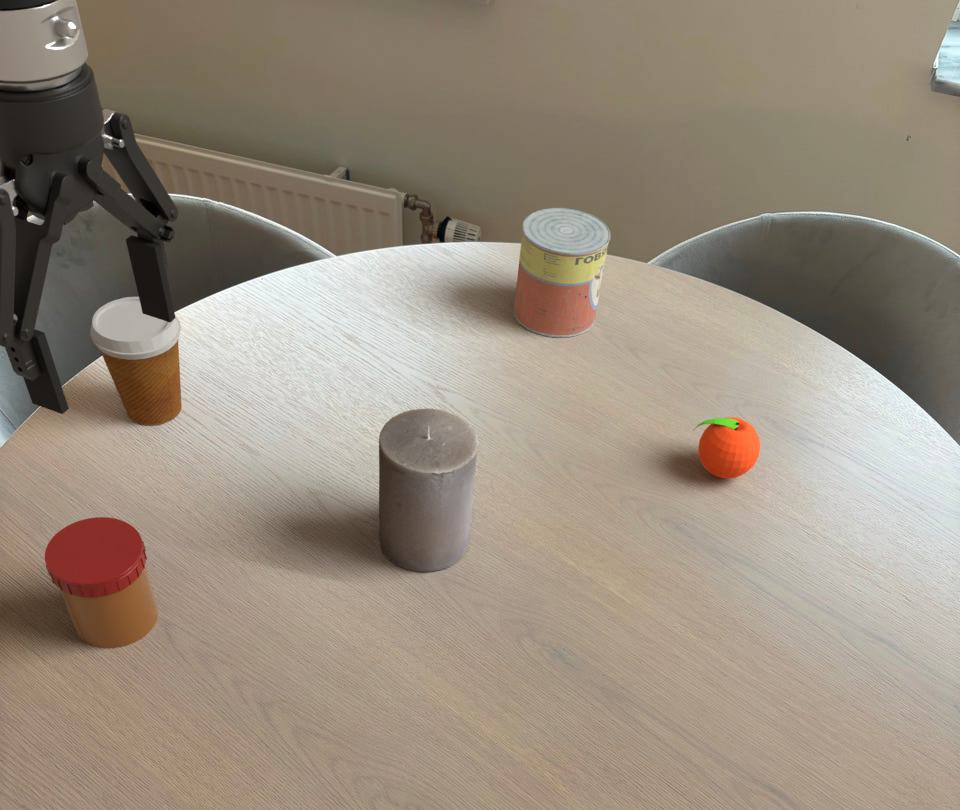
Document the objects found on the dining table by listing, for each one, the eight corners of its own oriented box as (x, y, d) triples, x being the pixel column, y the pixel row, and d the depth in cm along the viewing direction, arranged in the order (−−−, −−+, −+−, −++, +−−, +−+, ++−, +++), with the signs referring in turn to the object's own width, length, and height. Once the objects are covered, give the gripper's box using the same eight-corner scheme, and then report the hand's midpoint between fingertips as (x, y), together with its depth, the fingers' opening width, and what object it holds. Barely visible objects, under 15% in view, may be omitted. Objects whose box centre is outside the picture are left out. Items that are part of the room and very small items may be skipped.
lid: (31, 587, 85) (25, 573, 84) (77, 523, 90) (72, 508, 89) (121, 607, 84) (117, 593, 83) (162, 541, 90) (158, 527, 88)
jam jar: (64, 651, 92) (33, 575, 84) (101, 593, 97) (75, 515, 89) (140, 668, 92) (116, 593, 84) (174, 609, 96) (154, 532, 88)
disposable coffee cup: (179, 440, 112) (160, 350, 103) (98, 427, 113) (72, 336, 103) (207, 390, 118) (191, 301, 109) (130, 378, 119) (108, 288, 109)
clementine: (677, 479, 114) (692, 430, 108) (689, 443, 118) (703, 394, 113) (745, 497, 113) (763, 449, 107) (754, 460, 117) (772, 412, 111)
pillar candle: (364, 523, 106) (361, 410, 94) (446, 499, 109) (452, 387, 97) (402, 584, 101) (403, 473, 89) (486, 557, 104) (498, 446, 92)
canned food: (588, 344, 130) (603, 260, 120) (505, 328, 131) (513, 243, 122) (601, 299, 137) (616, 216, 128) (522, 284, 138) (532, 201, 129)
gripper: (-72, 162, 53) (41, 466, 69) (194, 16, 68) (235, 295, 84) (-180, 129, 54) (-45, 434, 71) (104, -6, 69) (161, 271, 86)
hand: (107, 359), depth 77 cm, fingers open, 13 cm apart
